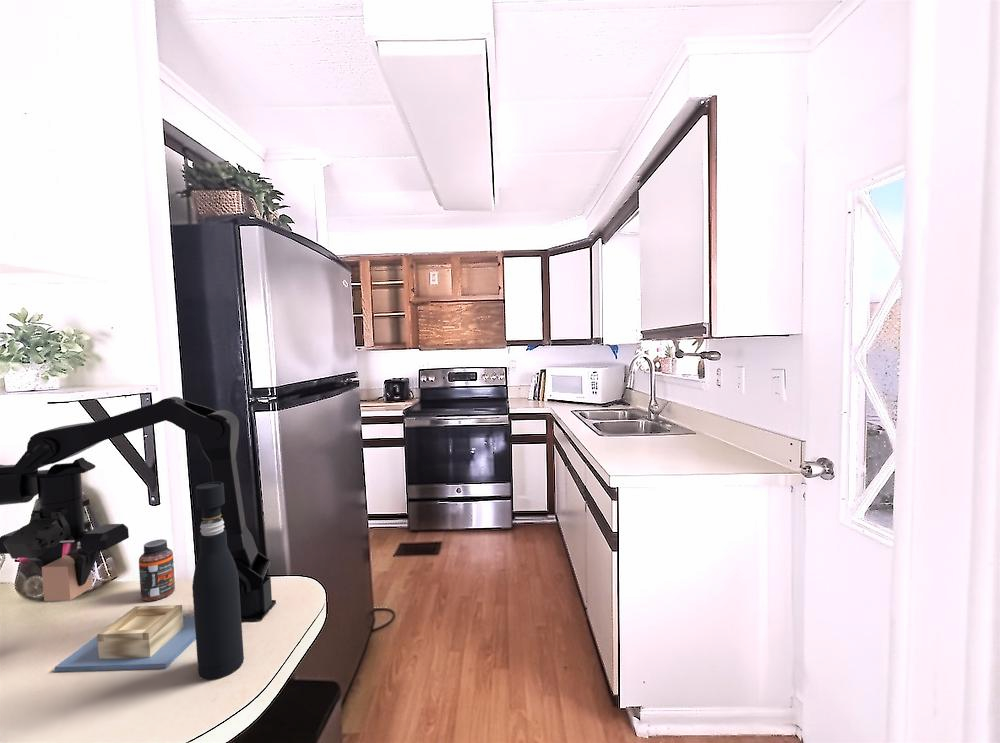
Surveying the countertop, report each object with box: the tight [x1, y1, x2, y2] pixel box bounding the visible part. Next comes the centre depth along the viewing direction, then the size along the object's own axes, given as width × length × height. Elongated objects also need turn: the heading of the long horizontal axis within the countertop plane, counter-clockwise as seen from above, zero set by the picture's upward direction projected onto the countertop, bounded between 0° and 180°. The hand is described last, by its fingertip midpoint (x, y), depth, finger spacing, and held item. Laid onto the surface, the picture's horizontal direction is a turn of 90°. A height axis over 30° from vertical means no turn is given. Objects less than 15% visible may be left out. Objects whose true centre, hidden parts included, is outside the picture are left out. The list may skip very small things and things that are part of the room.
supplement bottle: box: [138, 538, 176, 602], centre depth 102 cm, size 6×6×11 cm
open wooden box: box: [96, 604, 184, 659], centre depth 84 cm, size 8×8×5 cm
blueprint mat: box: [54, 615, 196, 673], centre depth 85 cm, size 18×14×1 cm
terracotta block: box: [41, 555, 93, 602], centre depth 85 cm, size 4×4×6 cm
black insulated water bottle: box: [191, 481, 245, 681], centre depth 77 cm, size 6×6×30 cm
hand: (68, 585), depth 86 cm, fingers closed on terracotta block, 4 cm apart
